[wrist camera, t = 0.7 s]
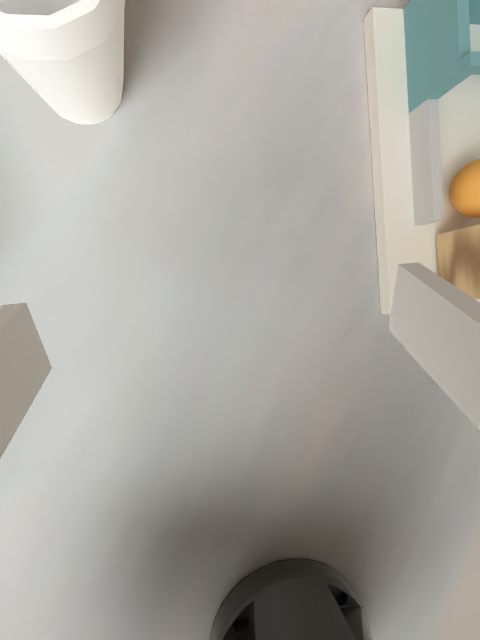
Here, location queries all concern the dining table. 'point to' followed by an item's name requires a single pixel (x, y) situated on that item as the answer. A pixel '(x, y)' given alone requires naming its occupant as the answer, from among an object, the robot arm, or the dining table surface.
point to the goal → (438, 47)
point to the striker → (460, 259)
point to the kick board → (414, 152)
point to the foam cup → (68, 53)
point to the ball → (467, 190)
